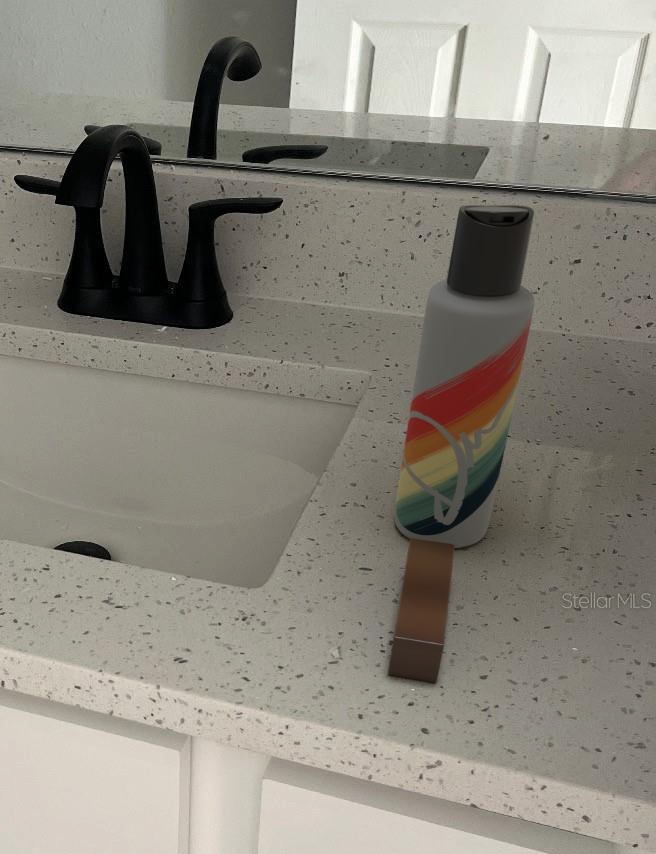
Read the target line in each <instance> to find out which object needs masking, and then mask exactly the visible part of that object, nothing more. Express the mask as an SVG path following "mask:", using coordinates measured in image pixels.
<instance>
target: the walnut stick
mask: <svg viewBox="0 0 656 854" xmlns="http://www.w3.org/2000/svg"><path fill="white" fill-rule="evenodd" d="M455 549H456V548H455V545H454V544H449V543H442V542H434V541H427V540H420V539H413V538H411V539H409V543H408V549H407V554H406V560H405V561H406V562H405V568H404V574H403V579H402V585H401V591H400V597H399V604H398V608H397V615H396V620H395V621H396V622H395V628H394V633H393V639H392V645H391V651H390V656H389V657H390V658H389V664H388V669H387V675H389V676H392V677H393V676H394V677H399V678H407V679H412V680H417V681H424V682H430V683H437V682H438V678H439V673H440V667H441V663H442V658H443V652H444V647H445V639H446V629H447V623H448V622H447V621H448V612H449V603H450V593H451V584H452V576H453V575H452V574H453V566H454V558H455Z"/></svg>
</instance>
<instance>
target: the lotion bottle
mask: <svg viewBox="0 0 656 854" xmlns="http://www.w3.org/2000/svg"><path fill="white" fill-rule="evenodd" d="M534 217H535V211H534V209H533V208H532V207H530V206H526V205H516V204H515V205H513V204H512V205H508V204H507V205H506V204H503V205H483V204H482V205H479V204H478V205H476V204H475V205H473V204H468V205H467V204H466V205H461V206H460V207H459V209H458V213H457V218H456V224H455V230H454V236H453V241H452V248H451V253H450V257H449V258H450V259H449V266H448V270H447V277H446V279H441V280H439V281H437V282H435V284H433V285H432V286H431V287H430V289H429V291H428V294H427V299H426V303H425V310H424V316H423V323H422V328H421V336H420V341H419V349H418V356H417V361H416V369H415V375H414V380H413V388H412V394H411V401H410V407H409V414H408V421H407V427H406V433H405V439H404V447H403V453H402V460H401V465H400V472H399V480H398V485H397V486H398V487H397V492H396V500H395V509H394V522H395V526H396V527H397V530H399V531H400V533H401V534H403V536H405V537H406V538H408V539H409V540H410V539H411V538H413V539H420V540H427V541H434V542H442V543H449V544H454V545H455V549H459V548H466V547H468V546H472V545H475V544H477V543H478V542H479V541H481V540H482V539H483V538H484V537H485V535H486V533H487V531H488V529H489V526H490V521H491V516H492V514H493V513H492V512H493V508H494V504H495V499H496V494H497V491H498V490H497V489H498V485H499V480H500V474H501V469H502V466H503V462H504V461H503V460H504V455H505V451H506V446H507V442H508V437H509V432H510V426H511V421H512V416H513V411H514V407H515V402H516V398H517V392H518V388H519V382H520V379H521V373H522V369H523V363H524V359H525V354H526V350H527V349H526V348H527V344H528V339H529V335H530V331H531V325H532V320H533V316H534V315H533V314H534V308H535V297H534V295H533V293H532V292H531V290H529V289H528V288H526V287H525V286H522V283H523V278H524V273H525V268H526V267H525V266H526V260H527V255H528V251H529V250H528V249H529V245H530V239H531V234H532V228H533V223H534Z"/></svg>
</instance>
